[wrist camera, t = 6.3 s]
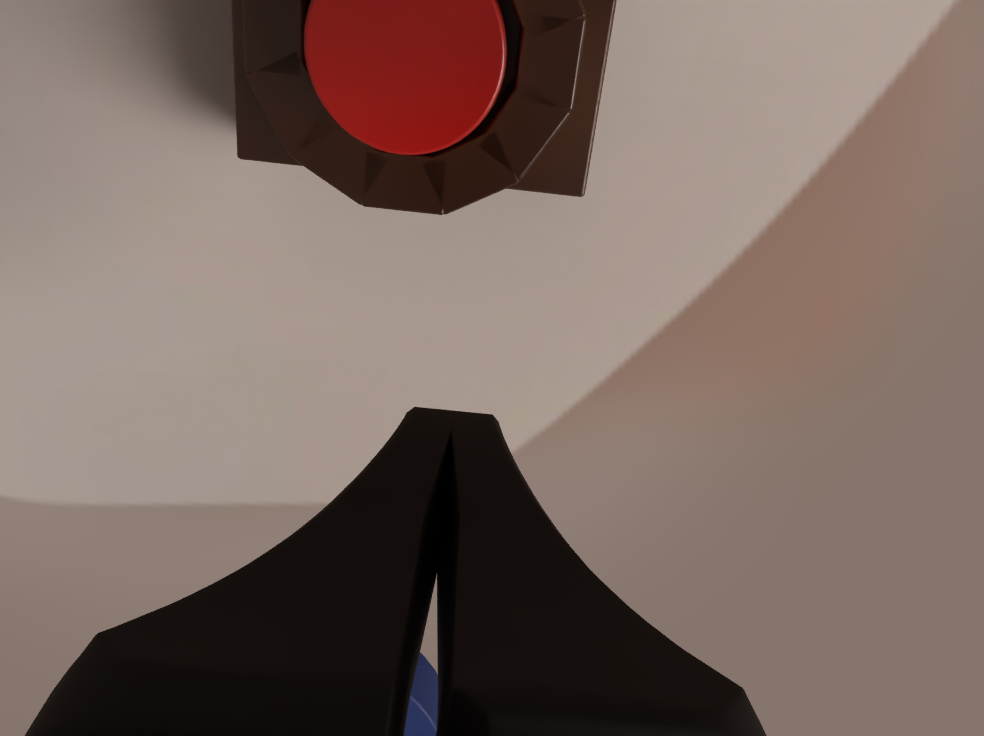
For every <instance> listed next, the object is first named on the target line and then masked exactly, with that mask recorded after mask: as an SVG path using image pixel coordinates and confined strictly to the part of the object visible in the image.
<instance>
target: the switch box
mask: <svg viewBox="0 0 984 736" xmlns="http://www.w3.org/2000/svg"><path fill="white" fill-rule="evenodd" d="M616 1H617V0H497V2H498V4H499V7H500V10H501V13H502V16H503V21H504V26H505V33H506V46H507V55H506V68H505V73H504V79H503V82H502V85H501V89H500V92H499V94H498V96H497V98H496V100H495V103H494V105H493V106H492V108H491V109H490V111H489V113H488V114H487V116H486V117H485V118H484V119H483V121H482V122H481V123H480V124H479V125H478V126H477V127H476V128H475V129H474V130H473V131H472V132H471V133H470V134H469V135H467V136H466V137H464V138H463V139H462V140H460V141H459V142H457V143H455V144H453V145H451V146H449V147H447V148H444V149H442V150H439V151H436V152H432V153H427V154H420V155H399V154H394V153H388V152H385V151H381V150H378V149H375V148H373V147H371V146H369V145H366V144H364V143H362V142H361V141H359V140H358V139H356V138H354V137H353V136H351V135H350V134H349V133H348V132H346V131H345V130H344V129H343V128H342V127H341V126H340V125H339V124H338V123H337V122H336V121H335V120H334V119H333V118H332V117H331V116H330V114H329V113H328V112H327V110H326V109H325V108H324V106H323V105H322V103H321V101H320V99H319V98H318V96H317V94H316V92H315V90H314V87H313V85H312V83H311V80H310V77H309V73H308V70H307V66H306V60H305V55H304V26H305V21H306V15H307V11H308V8H309V5H310V2H311V0H232V24H233V51H234V77H235V103H236V130H237V155H238V158H240V159H244V160H253V161H262V162H271V163H280V164H289V165H298V166H304V167H306V168H307V169H309V170H310V171H312V172H313V173H314V174H316V175H317V176H319V177H320V178H322V179H323V180H325V181H326V182H328V183H329V184H330V185H332V186H333V187H335V188H336V189H338V190H339V191H341V192H342V193H344V194H345V195H347V196H348V197H349V198H351V199H352V200H354V201H355V202H357V203H358V204H360V205H363V206H365V207H374V208H383V209H392V210H402V211H411V212H420V213H429V214H438V215H443V214H448V213H450V212H453V211H455V210H457V209H460V208H462V207H464V206H467V205H469V204H471V203H473V202H476V201H478V200H480V199H483V198H485V197H487V196H490V195H492V194H494V193H497V192H499V191H501V190H503V189H514V190H523V191H532V192H541V193H550V194H559V195H568V196H577V197H582V196H584V194H585V189H586V183H587V177H588V171H589V165H590V159H591V153H592V147H593V141H594V135H595V128H596V122H597V116H598V110H599V104H600V98H601V92H602V86H603V80H604V74H605V68H606V62H607V55H608V49H609V43H610V37H611V31H612V25H613V19H614V13H615V7H616Z"/></svg>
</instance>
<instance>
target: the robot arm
mask: <svg viewBox="0 0 984 736" xmlns="http://www.w3.org/2000/svg"><path fill="white" fill-rule="evenodd" d="M436 575H437V613H438V614H437V617H438V618H437V623H438V626H437V629H438V709H437V730H436V736H766V734H765V732H764V730H763V728H762V725H761V723H760V721H759V719H758V717H757V715H756V713H755V711H754V709H753V707H752V705H751V703H750V701H749V699H748V697H747V695H746V693H745V691H744V689H743V688H742V687H740V686H738V685H737V684H736V683H734V682H732V681H731V680H730V679H728V678H726V677H725V676H723V675H722V674H720V673H719V672H717V671H716V670H714V669H712V668H711V667H709V666H708V665H706V664H705V663H703V662H702V661H700V660H699V659H697V658H696V657H694V656H692V655H691V654H689V653H688V652H686V651H685V650H683V649H682V648H681V647H679V646H678V645H676V644H675V643H674V642H673V641H671V640H670V639H669V638H667V637H666V636H665V635H663V634H662V633H661V632H659V631H658V630H657V629H655V628H654V627H653V626H652V625H650V624H649V623H648V622H646V621H645V620H644V619H643V618H641V616H639V615H638V614H637V613H636V612H635V611H633V610H632V609H631V608H630V607H629V606H628V605H626V604H625V603H624V602H623V601H622V600H621V599H620V598H619V597H618V596H617V595H616V594H615V593H614V592H613V591H611V590H610V589H609V588H608V587H607V586H606V585H605V584H604V583H603V582H602V581H601V580H600V579H599V578H598V577H597V576H596V575H595V574H594V573H593V572H592V571H591V570H590V569H589V568H588V567H587V566H586V565H585V563H584V562H583V561H582V560H581V559H580V557H579V556H578V555H577V554H576V553H575V552H574V550H573V549H572V548H571V547H570V546H569V544H568V543H567V542H566V541H565V539H564V538H563V537H562V535H561V534H560V533H559V531H558V530H557V529H556V527H555V526H554V524H553V523H552V522H551V520H550V519H549V517H548V516H547V514H546V513H545V511H544V510H543V509H542V507H541V506H540V504H539V502H538V501H537V499H536V498H535V496H534V495H533V493H532V491H531V489H530V488H529V486H528V484H527V482H526V481H525V479H524V477H523V475H522V474H521V472H520V470H519V468H518V466H517V464H516V463H515V461H514V459H513V456H512V454H511V452H510V450H509V448H508V446H507V444H506V441H505V439H504V437H503V434H502V431H501V428H500V425H499V422H498V421H497V419H496V418H495V417H494V416H493V415H491V414H481V413H471V412H461V411H451V410H441V409H431V408H420V407H414V408H413V409H411V410H410V411H408V412H407V413H406V415H405V417H404V419H403V420H402V422H401V423H400V425H399V426H398V428H397V429H396V431H395V432H394V433H393V435H392V436H391V437H390V439H389V440H388V441H387V443H386V444H385V445H384V446H383V448H382V449H381V450H380V451H379V452H378V453H377V455H376V456H375V457H374V458H373V459H372V460H371V462H370V463H369V464H368V465H367V466H366V467H365V468H364V470H363V471H362V472H361V473H360V474H359V475H358V476H357V477H356V478H355V479H354V480H353V481H352V482H351V483H350V484H349V485H348V486H347V487H346V488H345V489H344V490H343V491H342V492H341V493H340V494H339V495H338V496H337V497H336V498H335V499H334V500H333V501H332V502H331V503H329V504H328V505H327V506H326V507H325V508H324V509H323V510H322V511H320V512H319V513H318V514H317V515H316V516H315V517H313V518H312V519H311V520H310V521H309V522H307V523H306V524H305V525H303V526H302V527H301V528H300V529H299V530H297V531H296V532H295V533H293V534H292V535H291V536H289V537H288V538H287V539H285V540H284V541H282V542H281V543H279V544H278V545H276V546H275V547H274V548H272V549H271V550H269V551H268V552H266V553H265V554H263V555H262V556H260V557H259V558H257V559H255V560H254V561H252V562H251V563H249V564H248V565H246V566H244V567H243V568H241V569H239V570H237V571H236V572H234V573H232V574H230V575H228V576H226V577H225V578H223V579H221V580H219V581H217V582H215V583H214V584H212V585H209V586H208V587H205V588H203V589H201V590H199V591H197V592H195V593H193V594H191V595H189V596H188V597H185V598H183V599H181V600H179V601H176V602H174V603H172V604H170V605H168V606H165V607H163V608H160V609H158V610H155V611H153V612H150V613H148V614H145V615H143V616H141V617H138V618H136V619H133V620H131V621H128V622H126V623H123V624H121V625H119V626H116V627H114V628H111V629H108V630H105V631H103V632H100V633H98V634H97V635H95V637H94V638H93V639H92V641H91V642H90V643H89V645H88V646H87V647H86V649H85V650H84V651H83V653H82V654H81V655H80V656H79V658H78V659H77V660H76V661H75V662H74V663H73V665H72V666H71V667H70V668H69V670H68V671H67V672H66V674H65V675H64V676H63V678H62V679H61V680H60V682H59V683H58V684H57V686H56V687H55V688H54V690H53V691H52V693H51V694H50V696H49V698H48V699H47V701H46V703H45V704H44V706H43V707H42V709H41V710H40V712H39V714H38V716H37V717H36V718H35V720H34V722H33V723H32V725H31V726H30V728H29V730H28V731H27V733H26V735H25V736H404V732H405V724H406V718H407V712H408V706H409V701H410V695H411V690H412V686H413V681H414V676H415V672H416V667H417V663H418V658H419V653H420V649H421V644H422V640H423V635H424V630H425V626H426V621H427V617H428V612H429V607H430V603H431V598H432V593H433V588H434V584H435V579H436Z"/></svg>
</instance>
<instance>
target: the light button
mask: <svg viewBox="0 0 984 736" xmlns="http://www.w3.org/2000/svg"><path fill="white" fill-rule="evenodd" d="M304 55H305V60H306V66H307V70H308V73H309V77H310V80H311V83H312V85H313V87H314V90H315V92H316V94H317V96H318V98H319V99H320V101H321V103H322V105H323V106H324V108H325V109H326V110H327V112H328V113H329V114H330V116H331V117H332V118H333V119H334V120H335V121H336V122H337V123H338V124H339V125H340V126H341V127H342V128H343V129H344V130H345V131H346V132H348V133H349V134H350V135H351V136H353V137H354V138H356V139H358V140H359V141H361V142H362V143H364V144H366V145H369V146H371V147H373V148H375V149H378V150H381V151H385V152H388V153H394V154H399V155H420V154H427V153H432V152H436V151H439V150H442V149H444V148H447V147H449V146H451V145H453V144H455V143H457V142H459V141H460V140H462V139H463V138H464V137H466V136H467V135H469V134H470V133H471V132H472V131H473V130H474V129H475V128H476V127H477V126H478V125H479V124H480V123H481V122H482V121H483V119H484V118H485V117H486V116H487V114H488V113H489V111H490V109H491V108H492V106H493V105H494V103H495V100H496V98H497V96H498V94H499V92H500V89H501V85H502V82H503V79H504V73H505V68H506V55H507V46H506V33H505V26H504V21H503V16H502V13H501V10H500V7H499V4H498V2H497V0H311V2H310V5H309V8H308V11H307V15H306V21H305V26H304Z"/></svg>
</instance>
